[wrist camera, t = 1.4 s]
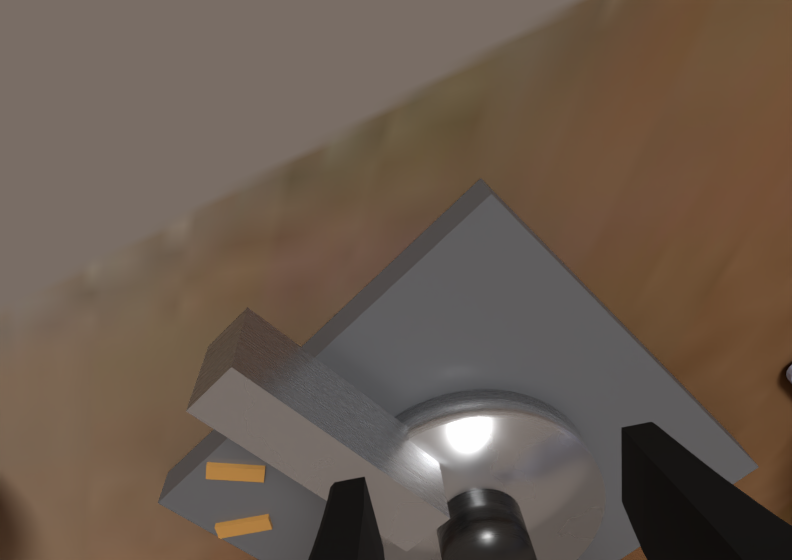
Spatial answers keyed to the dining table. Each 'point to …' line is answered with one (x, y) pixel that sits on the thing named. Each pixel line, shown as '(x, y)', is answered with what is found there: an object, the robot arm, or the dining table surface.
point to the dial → (409, 452)
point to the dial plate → (465, 375)
